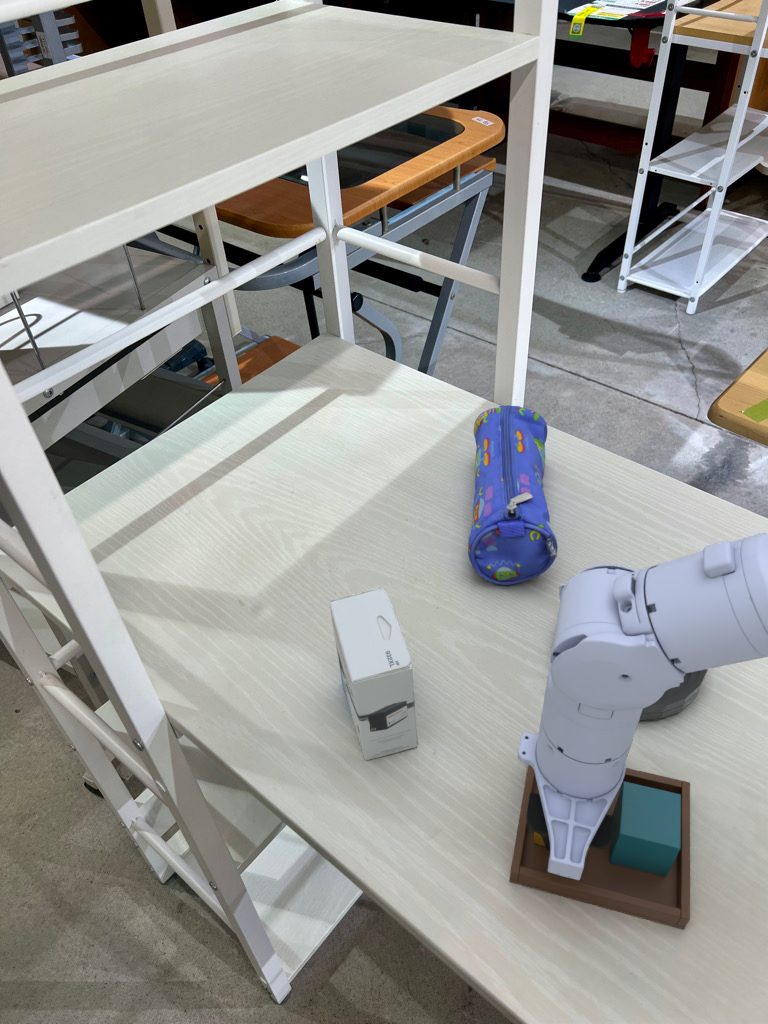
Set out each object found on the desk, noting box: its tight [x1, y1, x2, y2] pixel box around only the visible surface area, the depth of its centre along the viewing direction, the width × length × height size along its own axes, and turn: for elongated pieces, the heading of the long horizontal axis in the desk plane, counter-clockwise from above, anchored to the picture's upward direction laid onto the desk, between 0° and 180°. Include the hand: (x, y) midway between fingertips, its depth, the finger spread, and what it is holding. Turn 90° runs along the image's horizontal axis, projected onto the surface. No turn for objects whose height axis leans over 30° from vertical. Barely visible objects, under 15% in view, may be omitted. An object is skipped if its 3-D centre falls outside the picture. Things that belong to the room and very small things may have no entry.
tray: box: [508, 765, 691, 930], centre depth 56 cm, size 12×10×2 cm
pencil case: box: [467, 405, 558, 586], centre depth 79 cm, size 22×9×10 cm, turn 174°
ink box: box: [328, 586, 419, 761], centre depth 62 cm, size 8×5×12 cm, turn 15°
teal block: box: [609, 781, 681, 877], centre depth 54 cm, size 4×4×5 cm
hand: (564, 818), depth 57 cm, fingers closed on mustard block, 4 cm apart
